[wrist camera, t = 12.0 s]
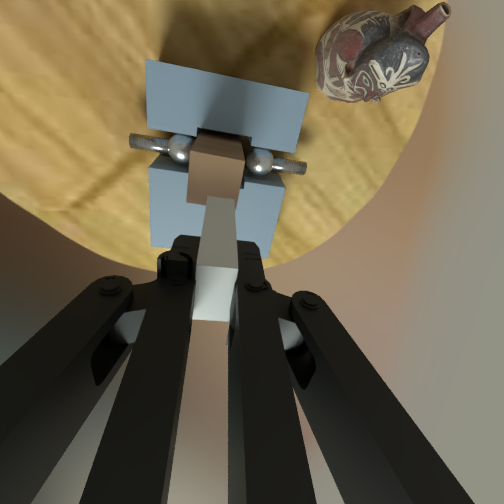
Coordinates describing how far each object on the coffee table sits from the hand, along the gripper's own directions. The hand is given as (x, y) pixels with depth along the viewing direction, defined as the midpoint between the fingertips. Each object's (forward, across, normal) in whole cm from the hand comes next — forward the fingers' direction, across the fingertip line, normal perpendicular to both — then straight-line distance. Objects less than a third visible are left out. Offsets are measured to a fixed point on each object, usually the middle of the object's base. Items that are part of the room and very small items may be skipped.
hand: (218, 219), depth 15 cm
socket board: (+18, 0, -2) cm, 18 cm away
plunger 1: (+17, -6, 0) cm, 18 cm away
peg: (+18, 0, 0) cm, 18 cm away
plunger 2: (+17, +6, 0) cm, 18 cm away
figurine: (+18, +11, +10) cm, 24 cm away
